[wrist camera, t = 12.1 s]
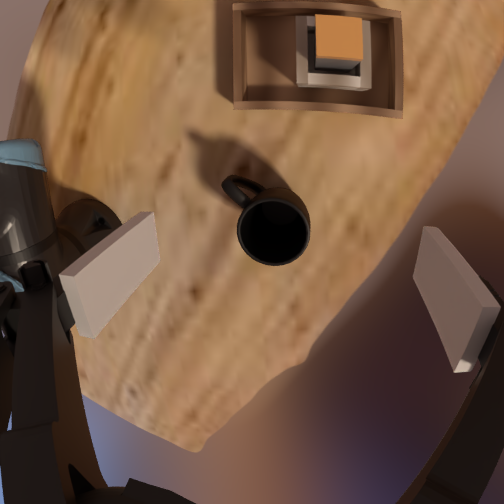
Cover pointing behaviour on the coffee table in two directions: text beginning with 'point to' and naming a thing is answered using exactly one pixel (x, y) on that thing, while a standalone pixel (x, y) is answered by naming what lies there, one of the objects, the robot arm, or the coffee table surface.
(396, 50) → the box
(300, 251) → the mug
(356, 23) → the connector
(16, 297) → the robot arm
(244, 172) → the coffee table surface
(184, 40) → the coffee table surface
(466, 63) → the coffee table surface
